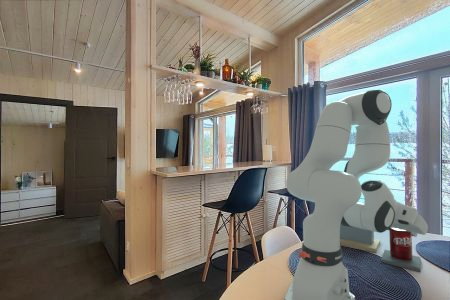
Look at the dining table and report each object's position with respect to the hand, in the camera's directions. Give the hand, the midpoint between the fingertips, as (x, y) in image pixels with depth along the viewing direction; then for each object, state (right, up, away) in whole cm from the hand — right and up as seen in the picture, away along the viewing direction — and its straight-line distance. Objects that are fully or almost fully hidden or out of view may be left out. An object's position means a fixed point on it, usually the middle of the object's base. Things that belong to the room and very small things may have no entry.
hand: (400, 231), depth 93 cm
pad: (0, -12, -1) cm, 12 cm away
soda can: (0, -11, 0) cm, 11 cm away
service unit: (-7, -12, +19) cm, 24 cm away
